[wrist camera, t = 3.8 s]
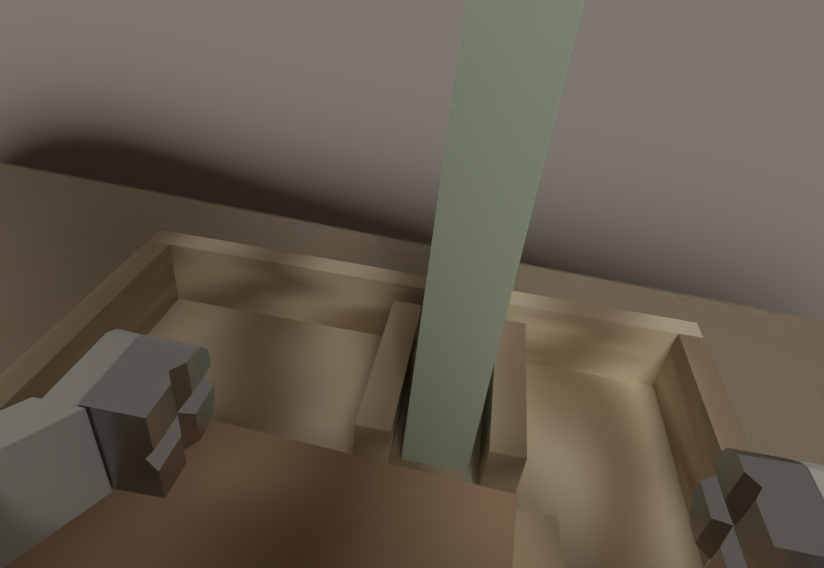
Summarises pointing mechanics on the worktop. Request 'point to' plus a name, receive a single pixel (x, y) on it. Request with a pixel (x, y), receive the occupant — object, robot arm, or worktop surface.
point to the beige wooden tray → (393, 372)
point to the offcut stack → (300, 516)
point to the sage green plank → (484, 211)
